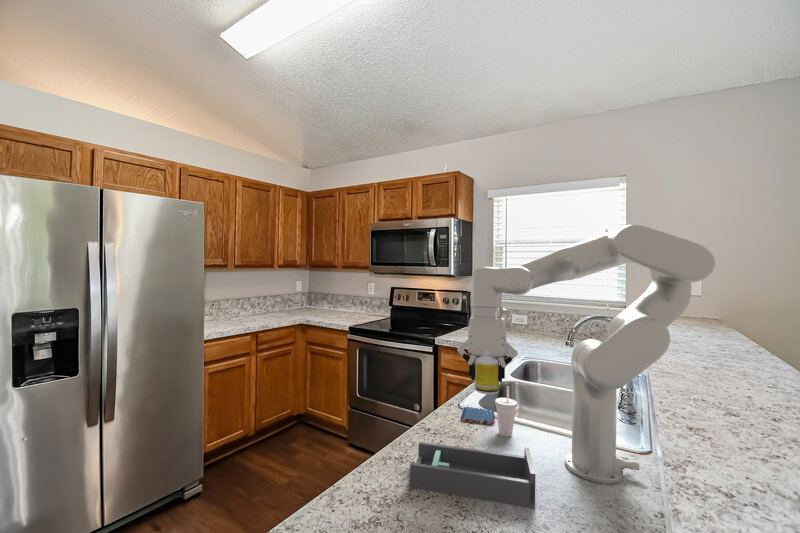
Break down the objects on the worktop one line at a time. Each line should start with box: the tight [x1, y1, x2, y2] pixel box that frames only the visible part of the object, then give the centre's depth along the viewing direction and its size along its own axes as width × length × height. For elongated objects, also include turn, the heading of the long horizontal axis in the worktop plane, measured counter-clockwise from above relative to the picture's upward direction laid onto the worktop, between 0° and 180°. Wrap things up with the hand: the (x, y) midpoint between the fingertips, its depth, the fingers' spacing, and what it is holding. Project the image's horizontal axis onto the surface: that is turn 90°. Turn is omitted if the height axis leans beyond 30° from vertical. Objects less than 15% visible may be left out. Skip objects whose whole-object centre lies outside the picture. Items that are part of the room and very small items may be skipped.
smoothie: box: [494, 386, 518, 438], centre depth 105 cm, size 6×6×14 cm
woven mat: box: [460, 406, 496, 425], centre depth 117 cm, size 10×11×2 cm
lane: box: [409, 441, 536, 510], centre depth 80 cm, size 26×11×7 cm, turn 76°
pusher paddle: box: [432, 450, 449, 468], centre depth 82 cm, size 4×8×3 cm, turn 166°
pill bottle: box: [473, 350, 500, 395], centre depth 94 cm, size 6×6×12 cm
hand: (486, 379), depth 94 cm, fingers closed on pill bottle, 6 cm apart
